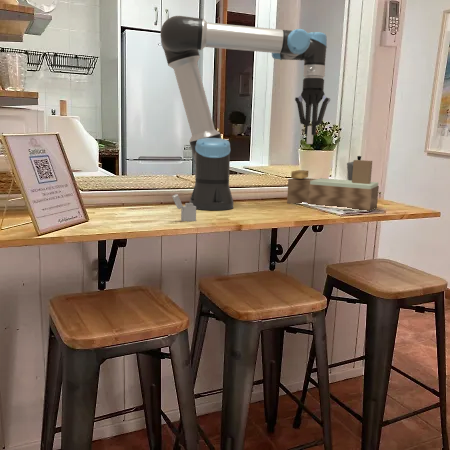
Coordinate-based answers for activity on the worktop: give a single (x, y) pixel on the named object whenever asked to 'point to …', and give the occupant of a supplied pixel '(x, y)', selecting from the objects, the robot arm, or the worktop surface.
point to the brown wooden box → (331, 195)
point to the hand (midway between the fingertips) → (309, 143)
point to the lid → (359, 177)
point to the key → (299, 174)
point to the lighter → (185, 209)
